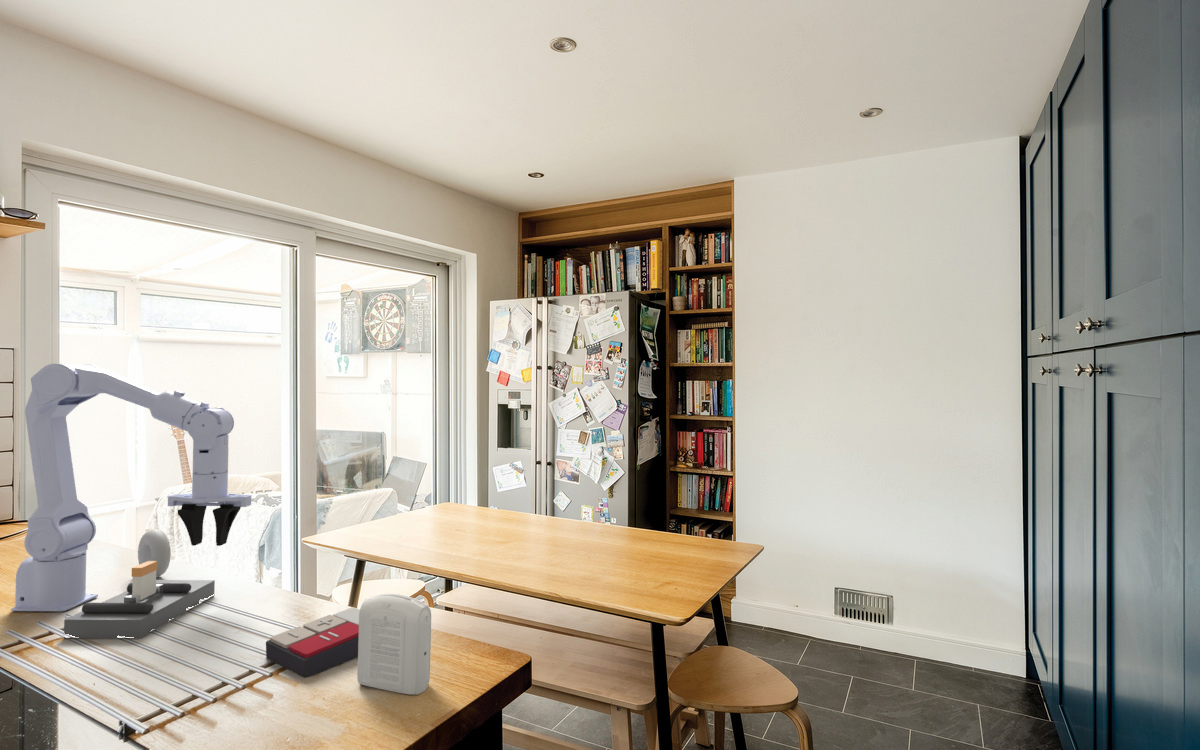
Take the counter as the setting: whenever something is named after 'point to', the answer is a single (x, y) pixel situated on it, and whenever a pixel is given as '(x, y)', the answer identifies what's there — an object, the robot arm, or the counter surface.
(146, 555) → the donut
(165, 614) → the box
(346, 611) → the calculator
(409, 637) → the photo printer
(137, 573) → the lever
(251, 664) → the counter surface
